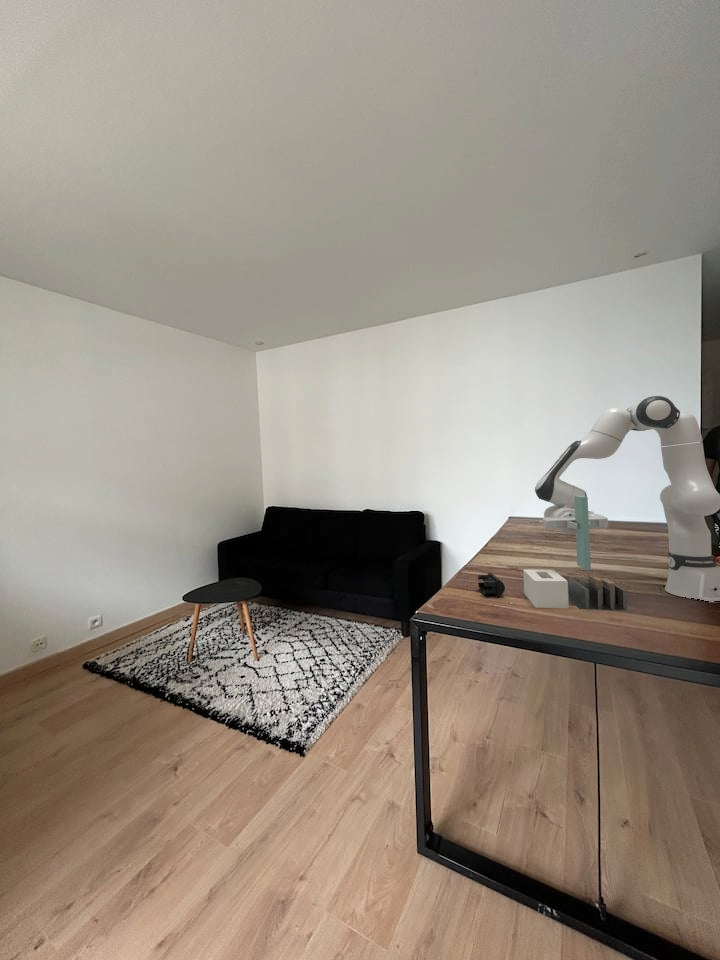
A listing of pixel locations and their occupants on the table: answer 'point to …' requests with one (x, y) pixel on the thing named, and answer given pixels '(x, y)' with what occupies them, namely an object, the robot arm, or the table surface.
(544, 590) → the holder
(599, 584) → the offcut tall
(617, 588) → the rack
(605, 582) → the offcut small
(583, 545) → the tall sheet
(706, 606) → the table surface
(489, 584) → the end cap
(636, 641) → the table surface
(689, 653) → the table surface
